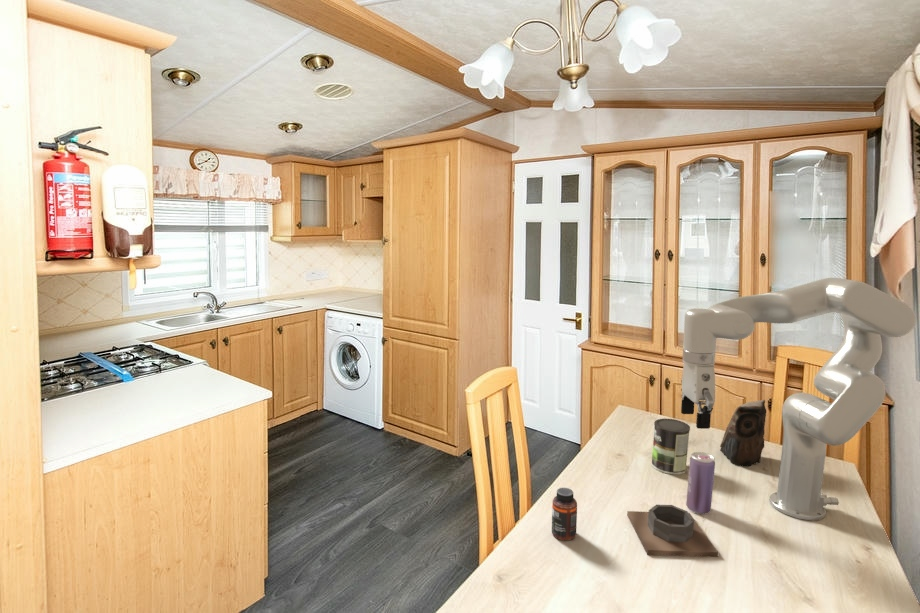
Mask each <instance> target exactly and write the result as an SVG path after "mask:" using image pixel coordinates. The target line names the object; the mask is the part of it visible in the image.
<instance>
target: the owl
mask: <svg viewBox="0 0 920 613" xmlns="http://www.w3.org/2000/svg"><path fill="white" fill-rule="evenodd" d="M765 402H766V399H761V400H755V401H749V402H746V403H743V404H741V405H739V406H737V408H736V409H735V410H734V412H733V414H732V415H731V418H730V420H729V422H728V424H727V427H726V428H725V431H724V434H723V437H722V440H721V443H720V446H719V447H720V449H719V451H720V452H721V453H722V454H723V455H724V456H725V457H726V459H727V460H728V461H729V462H730V463H731V464H732V465H734V466H736V467H743V468H744V467H745V468H747V467H749V468H751V467H752V466H755V465H757V463H758V464H759V463H761V457H762V452H763V450H764V448H765V439H764V436H765V426H766V417H767V408H766V406H765Z"/></svg>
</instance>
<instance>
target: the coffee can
mask: <svg viewBox="0 0 920 613" xmlns="http://www.w3.org/2000/svg"><path fill="white" fill-rule="evenodd" d="M653 424H654V428H653V440H652V441H653V442H652V454H651V455H652V457H651V463H650V464H651V467H652V468H653V469H655V470H656V471H658V472H660V473H663V474H668V475H673V476H674V475H677V476H678V475H682V474H685V473H686V471H687V461H688V460H687V459H688V451H689V439H690V431H691V426H690V425H689V424H688V423H686V422H684V421H682V420H679V419H674V418H673V419H672V418H659V419H656V420H654V423H653Z"/></svg>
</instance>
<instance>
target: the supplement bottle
mask: <svg viewBox="0 0 920 613" xmlns="http://www.w3.org/2000/svg"><path fill="white" fill-rule="evenodd" d="M551 508H552V512H551V534H552V536H554V537H555V538H556V539H557V540H561V541H571V540H573V539H575V538H576V535H577V521H578V515H577V514H578V503H577V500H576V498H574V491H573V490H572V489H571V488H569V487H559V488H557V489H556V495H555V496H554V498H553V499H552V507H551Z"/></svg>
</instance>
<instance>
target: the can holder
mask: <svg viewBox="0 0 920 613" xmlns="http://www.w3.org/2000/svg"><path fill="white" fill-rule="evenodd" d="M626 514H627V515H626V516H627V518H628V520H629V522H630V524H631V526H632V528H633V529H634V531H635V532H634V533H636V535H637V538H638V539H639V542H640V544H641V545H642V547H643V550H644V551H645V554H646V555H647V556H648V555H649V556H670V557H671V556H674V557H675V556H676V557H703V558H704V557H707V558H708V557H709V558H718V557H719V551H718V550H717V548H716V547H715V546H714V544H713V543H712V542H711V540H710V539H709V537H708V536H707V535H706V533H705V532H704V530H703V529H702V528H701V526H700V525H699V524H698V522H697V521H696V520H695V518H694V517H693V515H692V514H691V513H690V512H688V511H687V510H685V509H683V508H680V507H678V506H675V505H673V504H655V505H654V506H652V507H651V508H650V509H649V510H648V511H634V510H632V511H631V510H627V513H626Z"/></svg>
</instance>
